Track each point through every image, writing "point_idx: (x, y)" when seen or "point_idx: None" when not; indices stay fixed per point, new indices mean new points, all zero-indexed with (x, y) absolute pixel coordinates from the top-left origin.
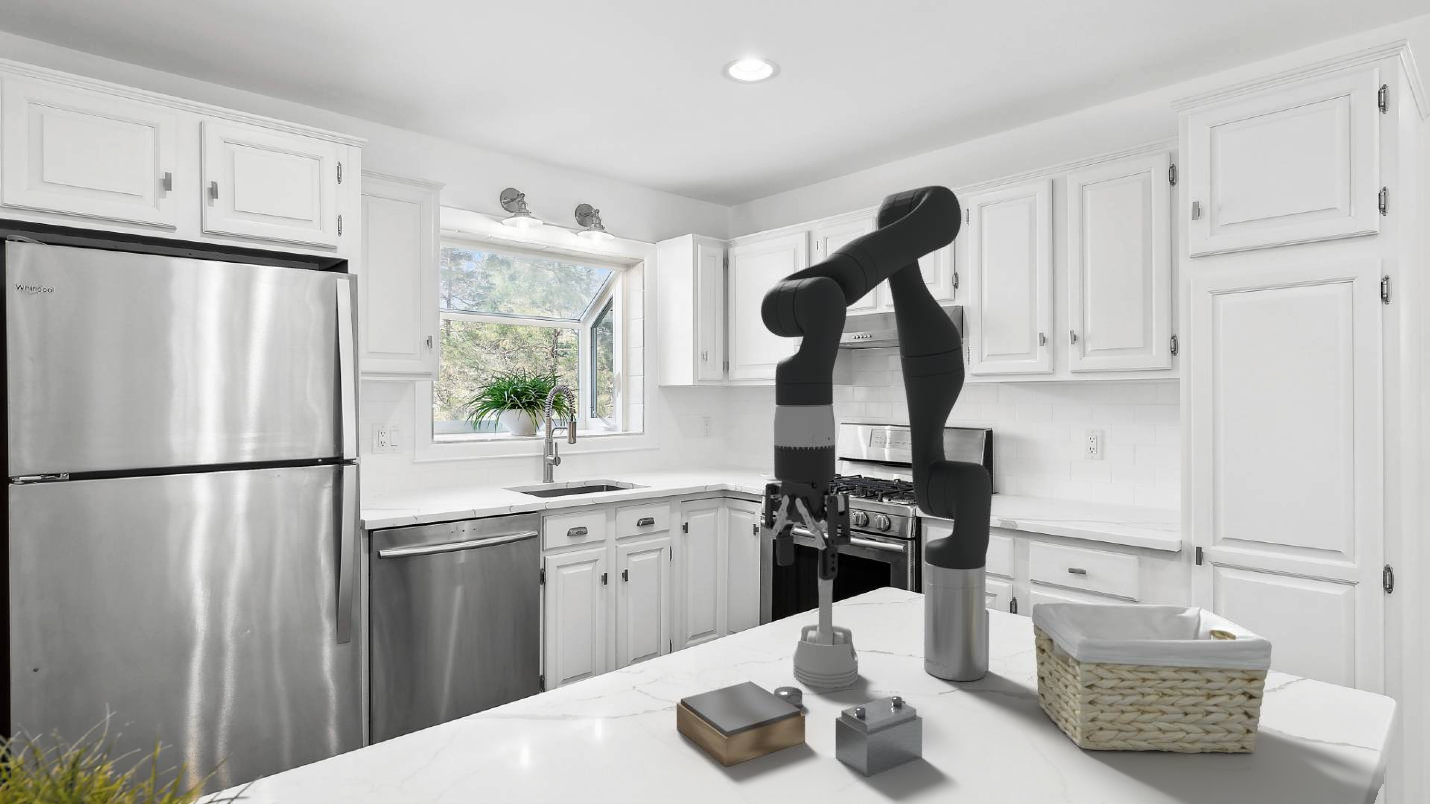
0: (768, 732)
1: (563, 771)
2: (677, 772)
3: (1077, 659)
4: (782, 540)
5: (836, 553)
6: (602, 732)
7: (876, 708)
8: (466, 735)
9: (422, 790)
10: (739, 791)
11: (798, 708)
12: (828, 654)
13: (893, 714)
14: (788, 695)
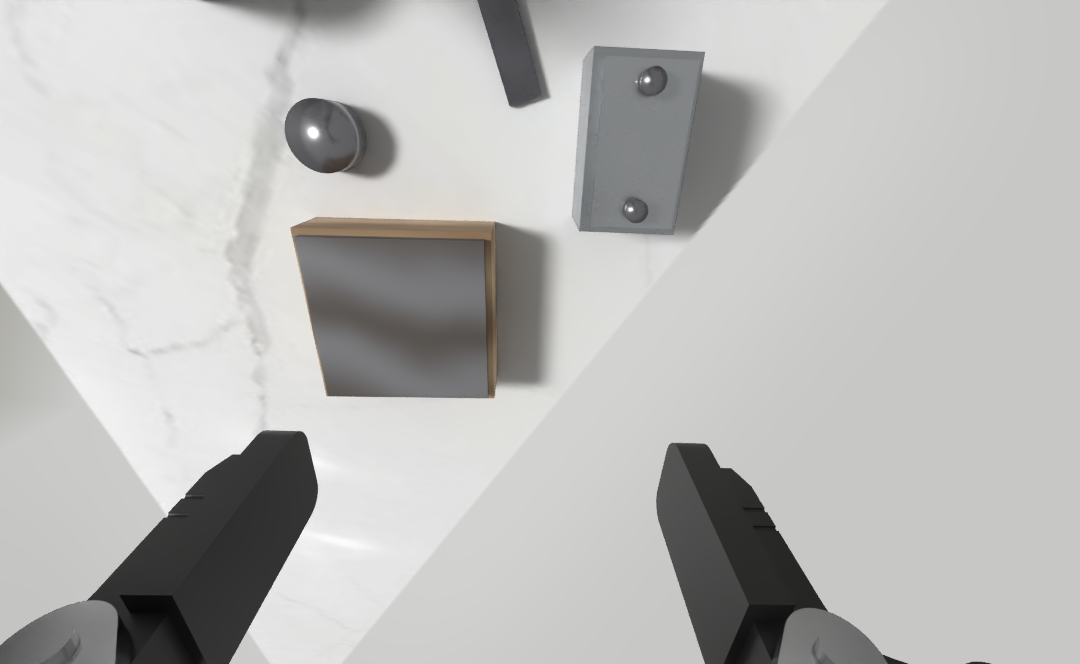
0: (493, 314)
1: (400, 522)
2: (473, 428)
3: None
4: (225, 641)
5: (811, 598)
6: None
7: (632, 147)
8: None
9: (373, 619)
10: (562, 392)
11: (364, 132)
12: None
13: (679, 138)
14: (339, 150)
